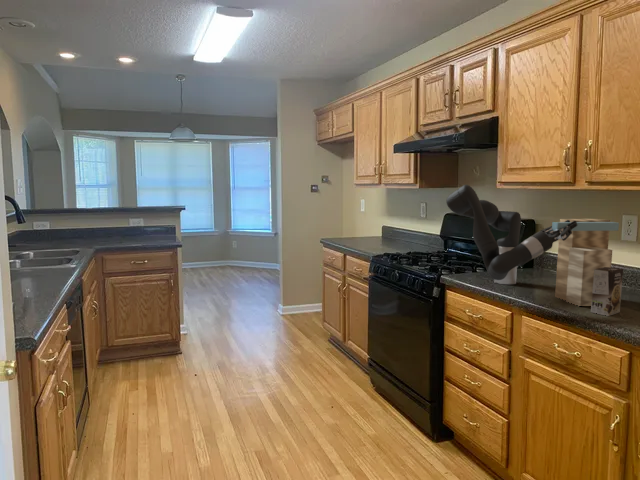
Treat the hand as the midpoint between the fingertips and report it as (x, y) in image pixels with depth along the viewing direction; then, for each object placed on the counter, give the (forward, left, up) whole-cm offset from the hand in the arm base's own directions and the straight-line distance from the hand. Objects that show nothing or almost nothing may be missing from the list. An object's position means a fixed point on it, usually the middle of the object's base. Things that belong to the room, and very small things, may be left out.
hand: (572, 222), depth 184 cm
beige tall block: (+6, +5, -32) cm, 33 cm away
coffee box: (+13, -6, -32) cm, 35 cm away
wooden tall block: (+4, +13, -32) cm, 35 cm away
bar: (+4, +3, -3) cm, 6 cm away
